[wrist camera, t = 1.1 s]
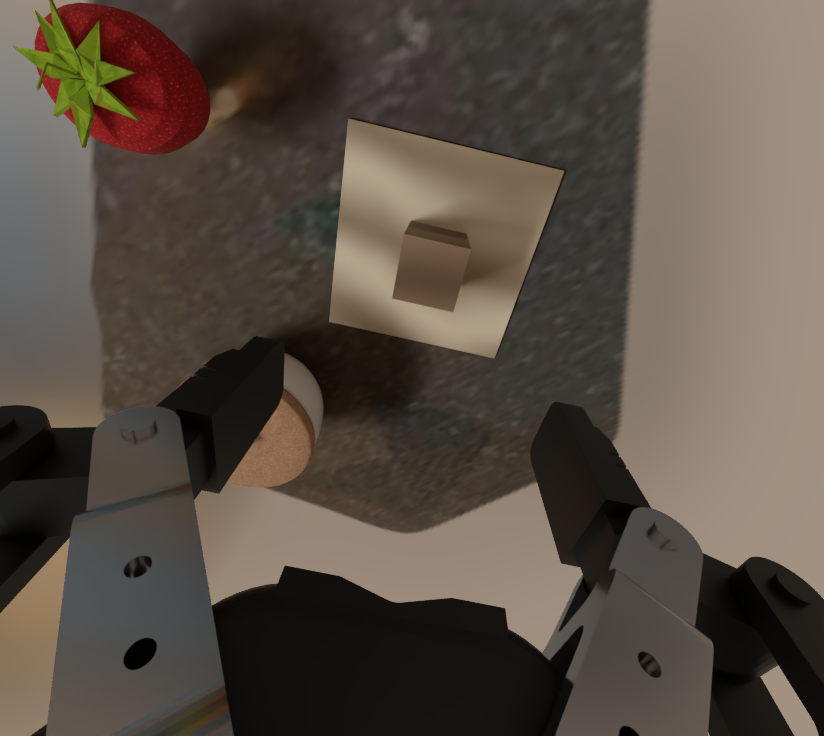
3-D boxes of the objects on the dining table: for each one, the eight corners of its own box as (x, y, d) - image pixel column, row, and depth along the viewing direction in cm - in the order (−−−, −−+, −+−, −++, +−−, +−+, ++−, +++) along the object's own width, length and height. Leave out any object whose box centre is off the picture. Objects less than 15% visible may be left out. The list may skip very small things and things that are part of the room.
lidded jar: (357, 365, 32) (328, 437, 24) (311, 443, 37) (274, 523, 29) (241, 304, 30) (164, 358, 21) (209, 395, 35) (137, 467, 26)
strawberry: (253, 164, 24) (149, 167, 16) (142, 144, 24) (-25, 136, 16) (246, 50, 21) (112, -23, 13) (119, 28, 21) (-102, -62, 13)
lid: (351, 119, 23) (325, 109, 18) (560, 170, 24) (592, 174, 19) (331, 318, 30) (309, 349, 25) (493, 353, 31) (503, 391, 26)
